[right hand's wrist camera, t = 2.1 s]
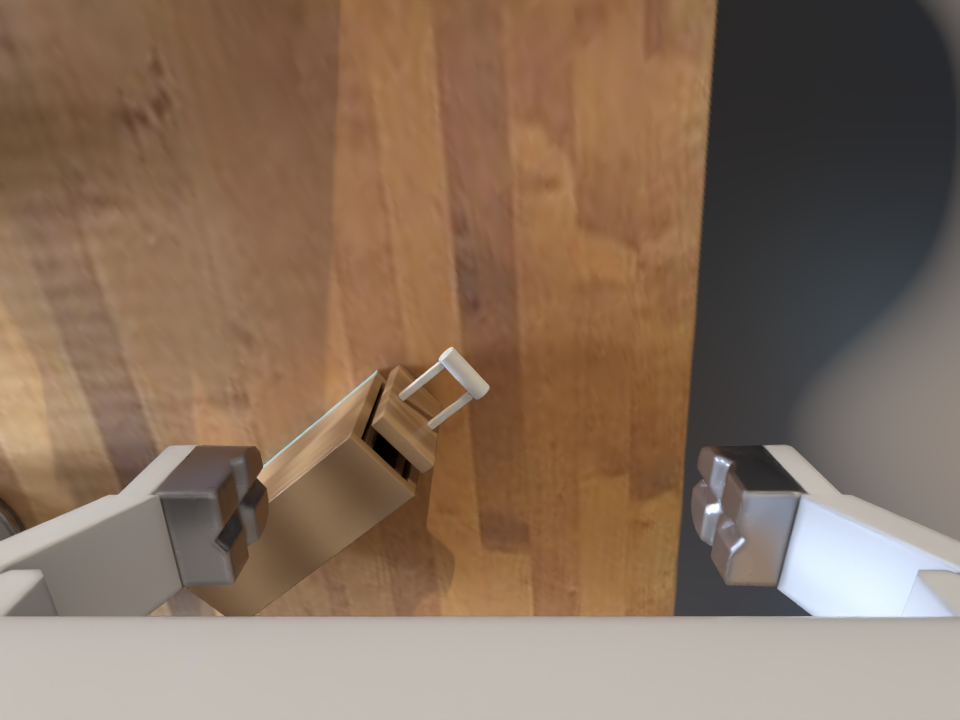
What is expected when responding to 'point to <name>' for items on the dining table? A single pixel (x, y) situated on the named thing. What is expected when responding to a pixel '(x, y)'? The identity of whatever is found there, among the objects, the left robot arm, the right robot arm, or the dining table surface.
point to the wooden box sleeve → (316, 503)
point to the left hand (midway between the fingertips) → (208, 625)
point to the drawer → (416, 413)
